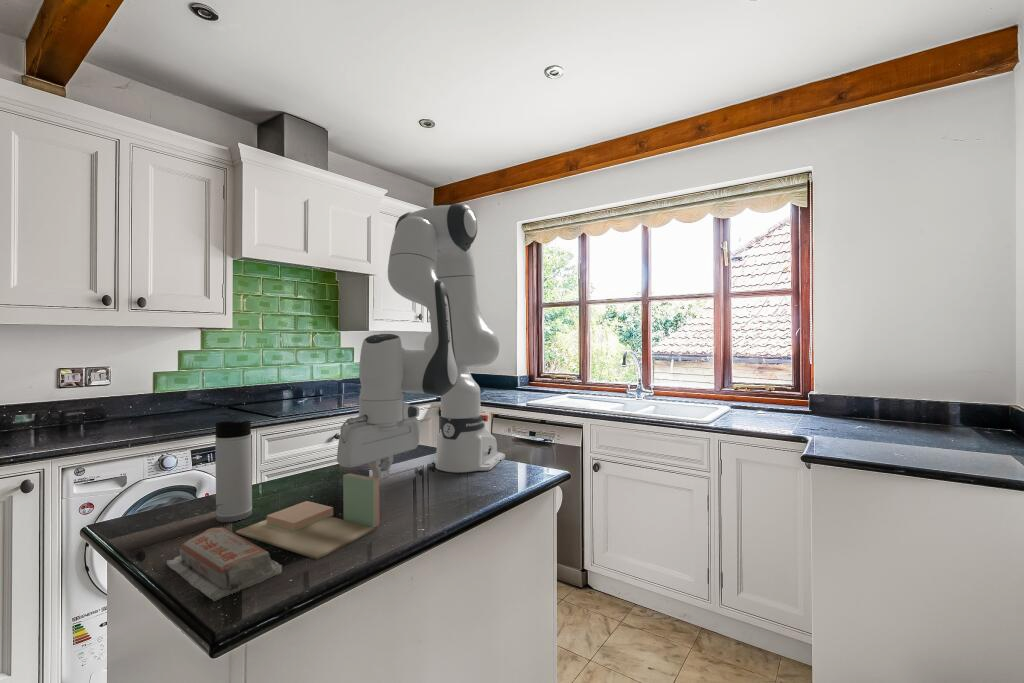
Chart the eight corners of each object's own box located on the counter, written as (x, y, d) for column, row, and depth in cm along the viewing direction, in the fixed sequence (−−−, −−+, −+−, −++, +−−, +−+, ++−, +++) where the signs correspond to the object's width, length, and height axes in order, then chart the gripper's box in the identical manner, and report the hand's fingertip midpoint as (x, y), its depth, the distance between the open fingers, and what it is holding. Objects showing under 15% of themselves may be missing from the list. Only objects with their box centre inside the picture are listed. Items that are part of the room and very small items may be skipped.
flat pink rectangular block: (306, 500, 98) (266, 515, 90) (333, 507, 94) (293, 523, 86) (306, 508, 98) (266, 523, 90) (333, 515, 94) (293, 531, 86)
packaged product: (284, 544, 72) (213, 571, 64) (285, 575, 72) (213, 606, 64) (231, 518, 83) (165, 538, 75) (232, 545, 83) (165, 568, 75)
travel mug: (209, 524, 91) (208, 422, 90) (224, 512, 97) (223, 416, 97) (243, 522, 92) (242, 421, 91) (256, 510, 98) (255, 415, 98)
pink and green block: (349, 517, 94) (349, 473, 94) (379, 524, 90) (379, 478, 90) (343, 520, 93) (343, 475, 92) (373, 527, 89) (373, 481, 89)
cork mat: (297, 509, 98) (297, 508, 98) (374, 530, 88) (374, 527, 88) (235, 533, 87) (235, 531, 87) (316, 559, 76) (316, 556, 76)
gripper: (353, 421, 86) (352, 496, 86) (424, 407, 104) (424, 469, 104) (329, 418, 89) (329, 490, 89) (402, 405, 107) (402, 465, 107)
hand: (380, 479), depth 96 cm, fingers closed
